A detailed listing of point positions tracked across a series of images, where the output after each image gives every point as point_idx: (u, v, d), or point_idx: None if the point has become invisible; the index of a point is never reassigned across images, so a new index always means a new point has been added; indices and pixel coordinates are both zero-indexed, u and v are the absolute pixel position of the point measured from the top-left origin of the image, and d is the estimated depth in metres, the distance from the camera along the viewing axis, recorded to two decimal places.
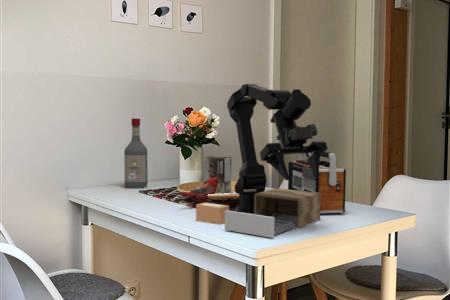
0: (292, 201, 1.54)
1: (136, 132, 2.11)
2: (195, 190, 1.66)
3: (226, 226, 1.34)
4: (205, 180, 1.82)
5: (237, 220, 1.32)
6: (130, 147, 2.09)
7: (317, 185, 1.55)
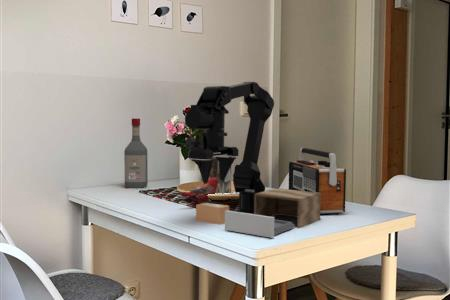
0: (292, 201, 1.54)
1: (136, 132, 2.11)
2: (195, 190, 1.66)
3: (226, 226, 1.34)
4: None
5: (237, 220, 1.32)
6: (130, 147, 2.09)
7: (317, 185, 1.55)
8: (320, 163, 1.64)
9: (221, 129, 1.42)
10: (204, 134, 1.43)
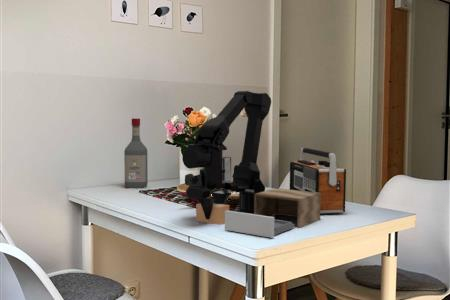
0: (292, 201, 1.54)
1: (136, 133, 2.11)
2: None
3: (226, 226, 1.34)
4: None
5: (237, 220, 1.32)
6: (130, 147, 2.09)
7: (317, 185, 1.55)
8: (320, 163, 1.64)
9: (219, 166, 1.43)
10: (202, 171, 1.45)
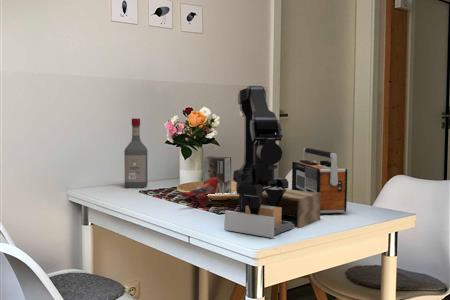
0: (292, 201, 1.54)
1: (136, 133, 2.11)
2: (195, 190, 1.66)
3: (226, 227, 1.34)
4: (205, 180, 1.82)
5: (237, 220, 1.32)
6: (130, 147, 2.09)
7: (318, 185, 1.55)
8: (322, 163, 1.64)
9: None
10: (253, 167, 1.34)
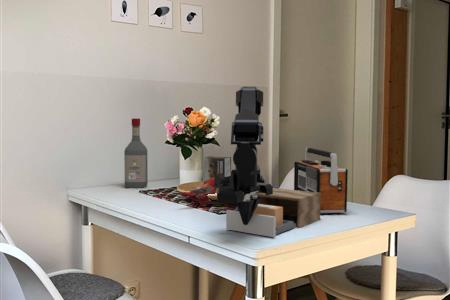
0: (292, 201, 1.54)
1: (136, 132, 2.11)
2: (195, 190, 1.66)
3: (228, 226, 1.34)
4: (205, 180, 1.82)
5: (239, 220, 1.32)
6: (130, 147, 2.09)
7: (318, 185, 1.55)
8: (323, 163, 1.64)
9: (254, 166, 1.26)
10: (234, 172, 1.27)
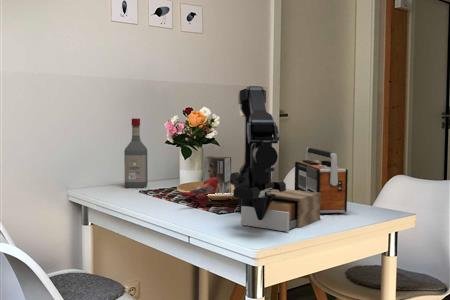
0: (292, 201, 1.54)
1: (136, 132, 2.11)
2: (195, 190, 1.66)
3: (243, 221, 1.41)
4: (205, 180, 1.82)
5: (253, 215, 1.38)
6: (130, 147, 2.09)
7: (318, 185, 1.56)
8: (323, 163, 1.64)
9: None
10: (249, 169, 1.33)
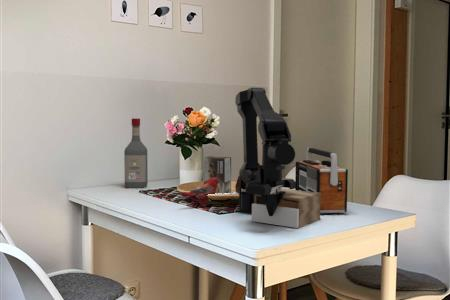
0: None
1: (136, 133, 2.11)
2: (195, 190, 1.66)
3: (253, 218, 1.45)
4: (205, 180, 1.82)
5: (264, 212, 1.43)
6: (130, 147, 2.09)
7: (318, 185, 1.56)
8: (323, 163, 1.64)
9: None
10: (261, 167, 1.38)
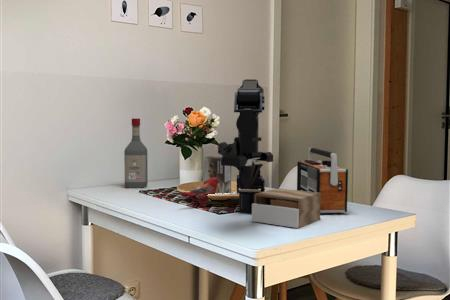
0: None
1: (136, 133, 2.11)
2: (195, 190, 1.66)
3: (253, 218, 1.45)
4: (205, 180, 1.82)
5: (264, 212, 1.43)
6: (130, 147, 2.09)
7: (318, 185, 1.56)
8: (324, 163, 1.64)
9: (255, 134, 1.34)
10: (237, 139, 1.36)
